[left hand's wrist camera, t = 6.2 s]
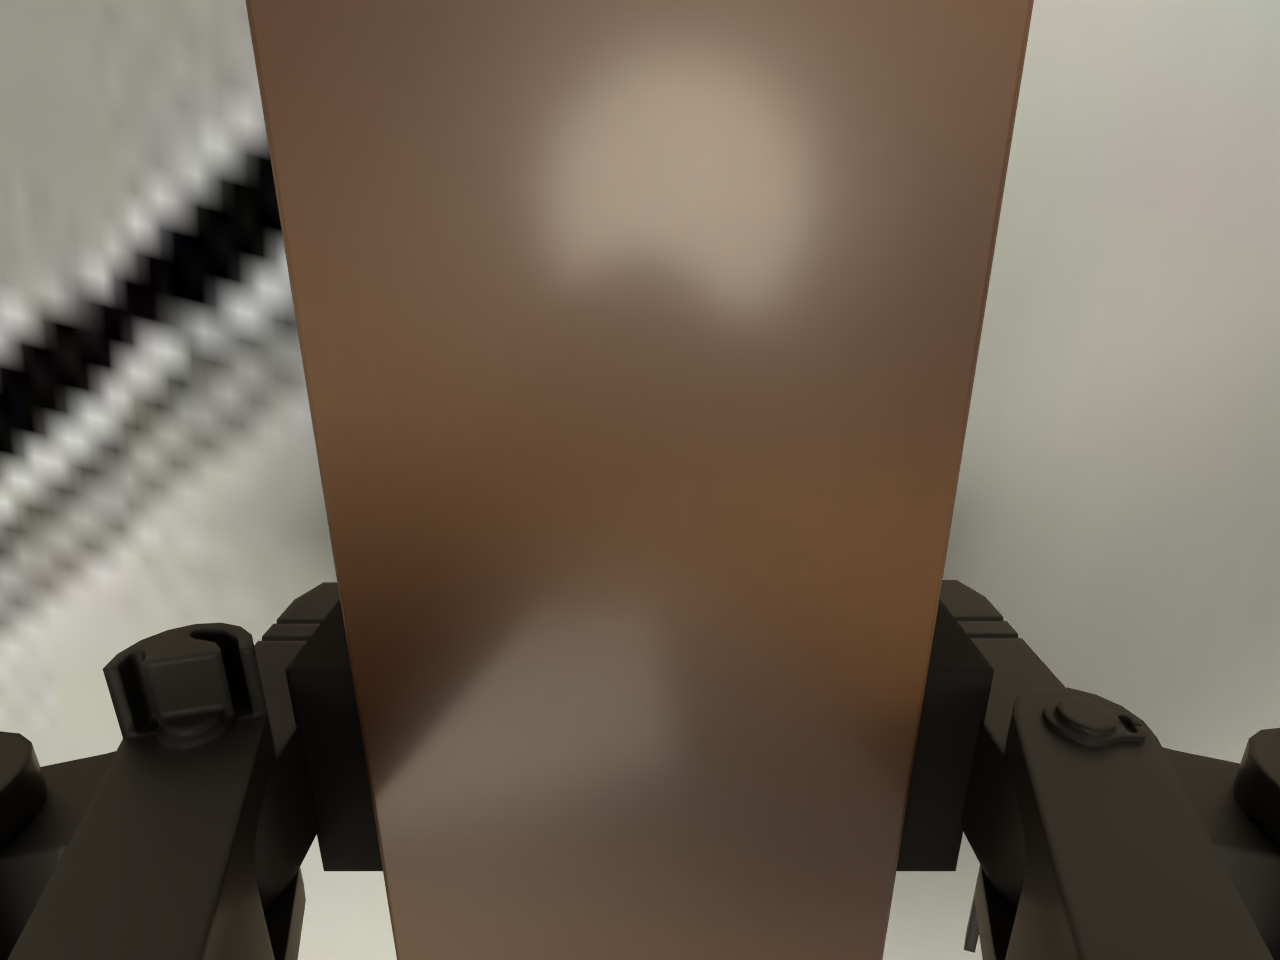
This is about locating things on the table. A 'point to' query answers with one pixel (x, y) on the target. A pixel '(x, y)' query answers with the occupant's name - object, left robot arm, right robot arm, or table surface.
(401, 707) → the bar
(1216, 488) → the table surface
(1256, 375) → the table surface
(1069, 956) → the left robot arm
